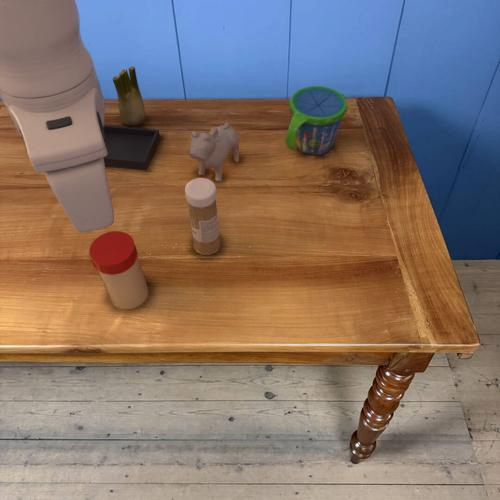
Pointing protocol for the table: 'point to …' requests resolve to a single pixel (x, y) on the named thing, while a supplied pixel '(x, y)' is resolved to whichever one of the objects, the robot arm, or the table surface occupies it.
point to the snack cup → (315, 119)
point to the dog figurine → (214, 148)
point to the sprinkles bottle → (203, 215)
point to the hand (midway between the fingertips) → (94, 201)
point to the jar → (126, 287)
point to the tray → (130, 146)
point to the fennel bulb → (129, 98)
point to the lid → (113, 252)
